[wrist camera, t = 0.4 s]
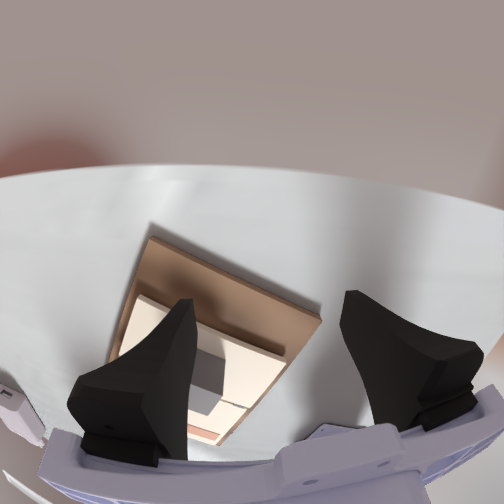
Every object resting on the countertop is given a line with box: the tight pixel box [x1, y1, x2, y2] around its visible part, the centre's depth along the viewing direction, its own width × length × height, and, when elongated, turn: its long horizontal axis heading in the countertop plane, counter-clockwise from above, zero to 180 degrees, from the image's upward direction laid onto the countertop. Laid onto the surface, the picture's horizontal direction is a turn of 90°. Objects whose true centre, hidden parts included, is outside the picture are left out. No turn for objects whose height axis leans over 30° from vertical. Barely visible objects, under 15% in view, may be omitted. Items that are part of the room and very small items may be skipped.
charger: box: [0, 384, 46, 448], centre depth 29 cm, size 5×9×15 cm
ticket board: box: [108, 236, 322, 446], centre depth 26 cm, size 22×16×1 cm
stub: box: [119, 294, 287, 416], centre depth 22 cm, size 7×14×5 cm, turn 62°
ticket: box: [119, 355, 247, 445], centre depth 26 cm, size 9×14×1 cm, turn 62°
